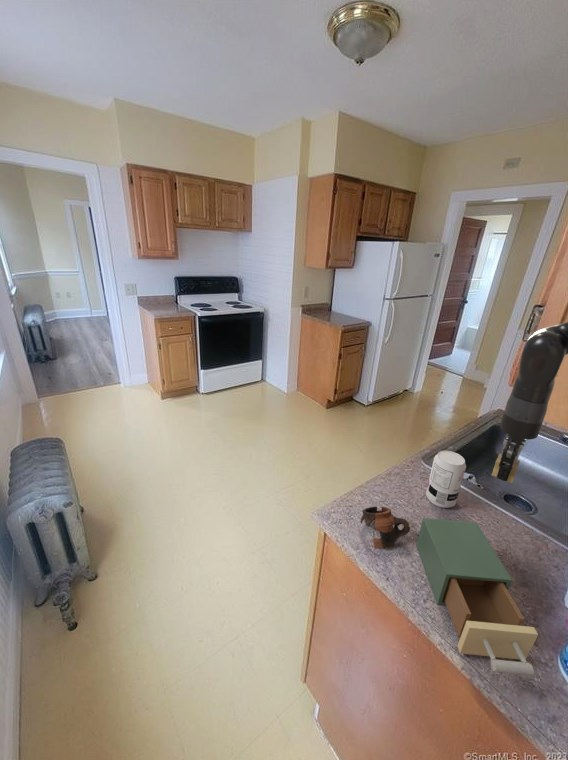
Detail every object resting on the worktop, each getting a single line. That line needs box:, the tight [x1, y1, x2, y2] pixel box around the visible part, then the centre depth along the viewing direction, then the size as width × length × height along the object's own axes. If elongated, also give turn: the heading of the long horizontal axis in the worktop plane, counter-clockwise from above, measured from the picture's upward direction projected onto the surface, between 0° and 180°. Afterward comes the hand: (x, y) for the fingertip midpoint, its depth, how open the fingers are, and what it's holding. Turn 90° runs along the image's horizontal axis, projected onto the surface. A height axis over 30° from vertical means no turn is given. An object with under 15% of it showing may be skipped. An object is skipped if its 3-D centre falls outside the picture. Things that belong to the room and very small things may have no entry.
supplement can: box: [425, 450, 467, 509], centre depth 93 cm, size 8×8×15 cm
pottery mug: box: [360, 506, 411, 549], centre depth 83 cm, size 12×10×8 cm
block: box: [491, 453, 521, 484], centre depth 80 cm, size 4×4×4 cm
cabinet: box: [415, 517, 513, 606], centre depth 72 cm, size 15×13×9 cm
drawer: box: [443, 577, 539, 676], centre depth 61 cm, size 18×11×7 cm, turn 175°
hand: (503, 474), depth 81 cm, fingers closed on block, 4 cm apart
